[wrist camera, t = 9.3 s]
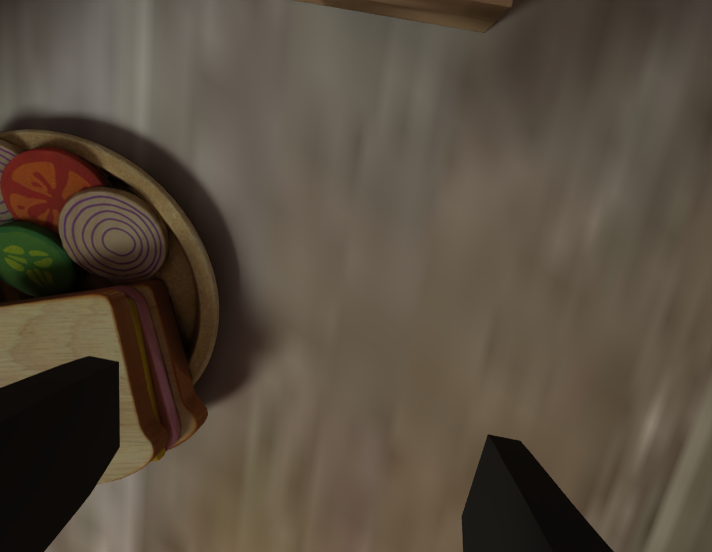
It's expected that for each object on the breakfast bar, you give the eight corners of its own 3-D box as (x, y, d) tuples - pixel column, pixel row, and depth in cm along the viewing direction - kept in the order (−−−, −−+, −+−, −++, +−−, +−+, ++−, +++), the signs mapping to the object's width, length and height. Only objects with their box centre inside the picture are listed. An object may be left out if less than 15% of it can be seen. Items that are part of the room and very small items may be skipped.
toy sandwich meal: (205, 120, 17) (135, 124, 13) (248, 429, 22) (208, 512, 17) (-101, 135, 19) (-261, 142, 14) (-1, 423, 23) (-98, 498, 19)
